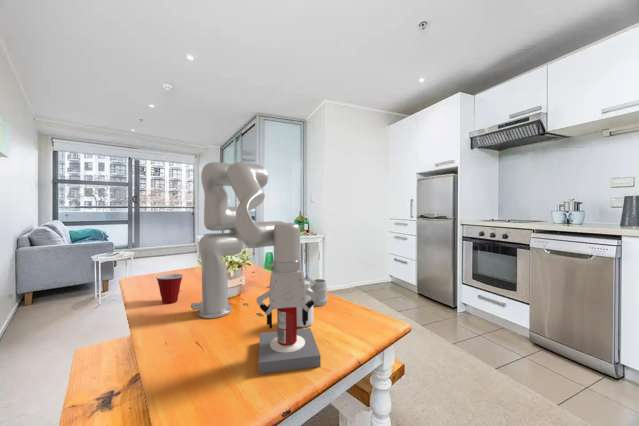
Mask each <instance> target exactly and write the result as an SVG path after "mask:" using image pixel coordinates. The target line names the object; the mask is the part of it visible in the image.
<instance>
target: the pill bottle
mask: <svg viewBox="0 0 639 426" xmlns="http://www.w3.org/2000/svg"><path fill="white" fill-rule="evenodd" d="M305 289H307V290H309V291H311V292H313V291H312V290H311V288H310V282H309V281H307V280H305ZM310 299H311V297H310V296H308V295H306V303H307V302H308V301H309V300H310ZM302 309H303V308H302V307H297V328H307V327H310V326H312V325H313V324H314V305H313V306H312V307H311V308H310V309H309V311H308V321H306V325H305V326H304V325H303V322H302Z"/></svg>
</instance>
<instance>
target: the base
mask: <svg viewBox="0 0 639 426" xmlns="http://www.w3.org/2000/svg"><path fill="white" fill-rule="evenodd" d="M258 347H259V348H258V375H263V374H262V373H266V374H272V373H271V372H273V373H280V372H279V371H281V372H286V371H285V370H289V371H296V370H304V369H311V368H318V367H321V366H322V365H321V364H322V363H321V362H322V361H321V360H322V359H321V353H320V351H319V348H318V345H317V341H316V339H315V337H314V334H313V331H312V329H311V327H308V328H307V327H305V328H300V329H299V328H298V329H297V341H296V343H295V344H294V345H292V346H288V347H284V346H281V345H280V344H279V343H278V341H277V331H267V332H259V346H258Z"/></svg>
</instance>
